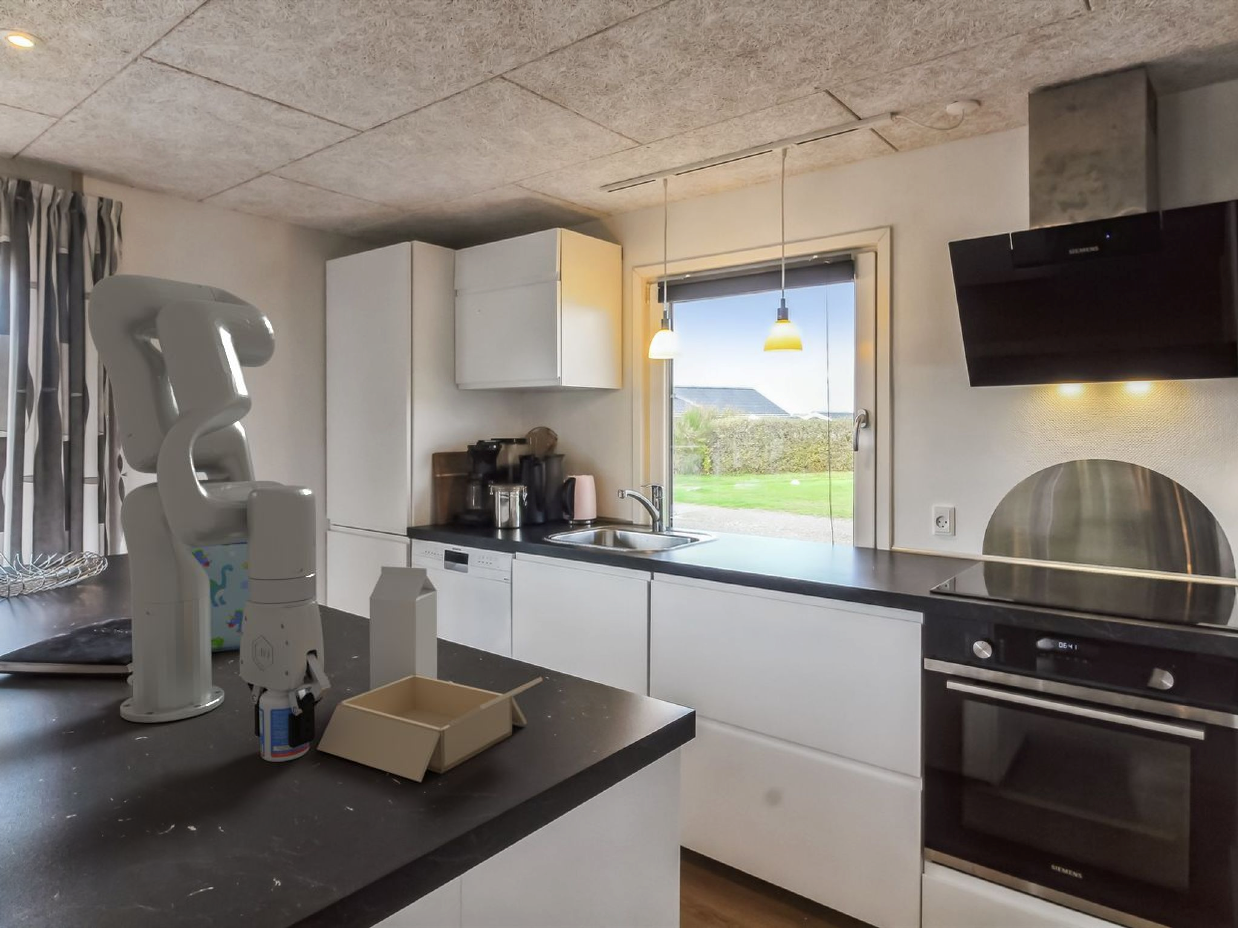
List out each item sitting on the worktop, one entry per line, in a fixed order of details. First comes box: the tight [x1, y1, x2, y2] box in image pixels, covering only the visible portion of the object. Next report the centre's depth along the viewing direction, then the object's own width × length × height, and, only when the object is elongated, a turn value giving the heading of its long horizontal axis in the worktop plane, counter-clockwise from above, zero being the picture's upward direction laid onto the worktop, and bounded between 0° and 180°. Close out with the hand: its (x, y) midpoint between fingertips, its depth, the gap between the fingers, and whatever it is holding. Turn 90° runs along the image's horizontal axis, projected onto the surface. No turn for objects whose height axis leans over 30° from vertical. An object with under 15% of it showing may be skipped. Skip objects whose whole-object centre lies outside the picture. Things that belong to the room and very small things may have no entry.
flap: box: [448, 676, 544, 727], centre depth 92 cm, size 1×12×6 cm
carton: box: [316, 675, 528, 783], centre depth 98 cm, size 20×20×5 cm
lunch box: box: [191, 542, 248, 653], centre depth 138 cm, size 26×11×21 cm, turn 120°
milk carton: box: [369, 565, 438, 691], centre depth 113 cm, size 7×7×19 cm
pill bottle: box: [259, 688, 310, 763], centre depth 93 cm, size 6×5×10 cm
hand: (284, 736), depth 93 cm, fingers closed on pill bottle, 5 cm apart
